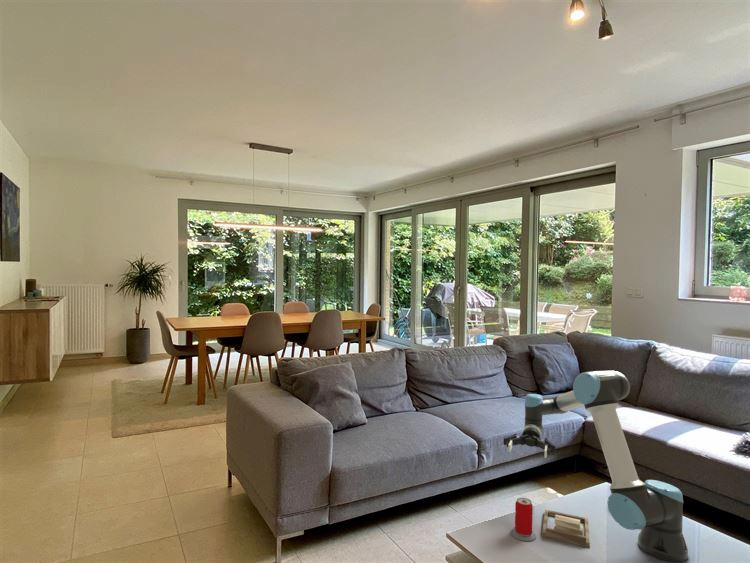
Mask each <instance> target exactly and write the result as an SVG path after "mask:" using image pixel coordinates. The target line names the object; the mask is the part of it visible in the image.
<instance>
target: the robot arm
mask: <svg viewBox="0 0 750 563" xmlns="http://www.w3.org/2000/svg"><path fill="white" fill-rule="evenodd" d="M630 390H631V384H630V382H629V380H628V378H627V377H626V376H625V375H624V374H623V373H622V372H619V371H615V370H595V371H593V370H592V371H591V370H590V371H585V372H581V373H579V374H578V375H577V376H576V377H575V379H574V381H573V386H572V390H570V391H567V392H565V393H562V394H558V395H556V396H553V397H543V396H542V395H541V394H537V393H527V394H526V395H525V400H524V429H523V431H522V434H521V435H520V436H519V435H518V434H517V433H514V434H511V435H510V436H506V437H503V442H502V443H503V446H506V448H508V449H507V452H508V453H511V452H512V449H513V447H514V446H517V445H520V446H528V447H535V448H539V449H542V450H543V451H544V456H543V457H544V459H547V457H548V455H550V454H551V452H552V453H555V454H556V445H554V443H552V442H551V441H550V440H548V438H543V439H541V438H542V432H543V416H547V415H548V416H549V415H550V416H551V415H557V414H558V415H562V414H566V413H568V412H569V411H572V410H575V409H578V408H582V407H584V409H585V411H587V412H588V413H589V414H590V415H591V416H592V419H593V420H592V421H593V424H594V426H595V430H596V433H597V436H598V437H597V438H598V439H599V442H600V447H601V450H602V452H603V455H604V459H605V461H606V465H607V469H608V472H609V475H610V478H611V484H610V486H609V491H610V493H611V494H610V495H609V496H608V498H607V504H606V505H607V509H608V512H609V514H610V516H611V517H612V519H613V520H614V521H615V522H616V523H617V524H618V525H619V526H620V527H622V528H624V529H625V530H631V531H633V530H634V531H635V530H640V532H639V533H638V535H637V545H638V546H639V548H640V549H641V550H642V551H644V552H645V553H647V555H650V556H652V557H654V558H657V559H660V560H663V561H667V562H674V563H680V562H684V561H687V560H688V558H689V549H688V546H687V543H686V540H685V536H684V534H683V521H684V520H683V517H684V516H683V511H684V510H683V508H684V507H683V506H684V498H683V493H682V491H681V490H680V488H678V487H676V486H674V485H673V484H670V483H667V482H665V481H660V480H655V479H646V480H644V481H642V480H641V479H640V478H639V476H638V473H637V469H636V467H635V463H634V461H633V457H632V455H631V452H630V449H629V446H628V442H627V440H626V437H625V433H624V431H623V427H622V424H621V422H620V419H619V416H618V412H617V408H618V406H619V402H618V401H621V400H624V399H625V398H626V397H627V396H629V394H630Z"/></svg>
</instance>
